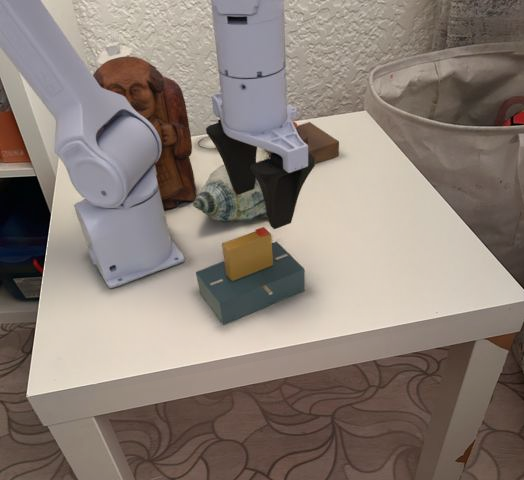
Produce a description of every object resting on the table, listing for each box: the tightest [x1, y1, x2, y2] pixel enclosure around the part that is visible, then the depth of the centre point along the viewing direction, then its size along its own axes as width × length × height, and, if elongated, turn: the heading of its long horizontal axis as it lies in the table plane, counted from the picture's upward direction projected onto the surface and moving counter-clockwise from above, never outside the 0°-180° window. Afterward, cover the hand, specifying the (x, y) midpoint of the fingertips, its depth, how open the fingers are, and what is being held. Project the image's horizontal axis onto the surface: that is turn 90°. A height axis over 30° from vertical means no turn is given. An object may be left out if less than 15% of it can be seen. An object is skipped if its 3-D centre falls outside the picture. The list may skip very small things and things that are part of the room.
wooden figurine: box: [92, 56, 197, 211], centre depth 68 cm, size 12×6×18 cm, turn 108°
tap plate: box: [195, 241, 306, 325], centre depth 59 cm, size 10×9×3 cm
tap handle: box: [221, 226, 273, 281], centre depth 56 cm, size 5×1×4 cm, turn 119°
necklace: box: [197, 136, 217, 150], centre depth 85 cm, size 4×6×1 cm, turn 74°
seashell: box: [192, 164, 268, 223], centre depth 69 cm, size 6×8×12 cm
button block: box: [264, 121, 340, 165], centre depth 80 cm, size 10×8×4 cm
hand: (262, 207), depth 56 cm, fingers open, 7 cm apart
